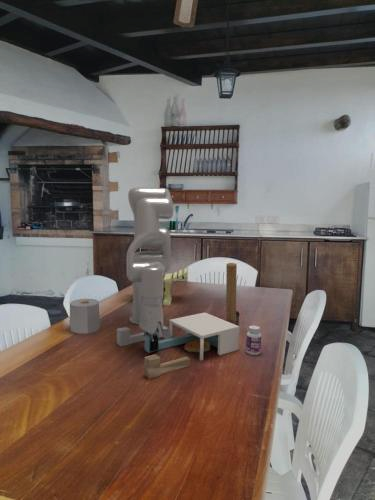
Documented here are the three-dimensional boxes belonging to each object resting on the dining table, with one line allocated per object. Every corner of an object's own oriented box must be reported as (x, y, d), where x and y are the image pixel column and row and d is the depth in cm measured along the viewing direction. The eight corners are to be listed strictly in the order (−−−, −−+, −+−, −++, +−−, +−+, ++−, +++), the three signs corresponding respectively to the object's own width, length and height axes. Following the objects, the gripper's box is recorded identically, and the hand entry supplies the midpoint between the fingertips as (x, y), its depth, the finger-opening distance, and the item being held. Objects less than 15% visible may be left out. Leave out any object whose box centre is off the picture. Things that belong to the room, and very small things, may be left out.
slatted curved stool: (187, 297, 214) (187, 266, 212) (186, 305, 198) (187, 271, 196) (134, 296, 215) (134, 265, 212) (129, 303, 199) (129, 270, 196)
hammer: (233, 342, 155) (233, 273, 145) (220, 341, 156) (220, 273, 146) (240, 319, 173) (240, 256, 164) (229, 317, 174) (229, 256, 165)
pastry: (188, 355, 137) (188, 344, 136) (181, 348, 143) (181, 338, 142) (211, 351, 140) (211, 341, 140) (203, 344, 146) (204, 335, 146)
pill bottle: (251, 356, 136) (252, 330, 135) (242, 351, 141) (243, 325, 139) (263, 353, 138) (264, 328, 137) (254, 348, 143) (255, 323, 142)
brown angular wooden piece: (144, 375, 120) (144, 357, 119) (185, 363, 130) (185, 346, 129) (149, 378, 118) (149, 360, 117) (190, 366, 127) (191, 349, 126)
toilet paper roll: (105, 329, 161) (104, 302, 159) (79, 336, 152) (79, 308, 150) (89, 322, 169) (88, 297, 167) (64, 328, 160) (63, 302, 159)
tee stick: (114, 341, 147) (114, 327, 146) (158, 332, 159) (158, 318, 158) (123, 348, 140) (123, 333, 140) (168, 337, 152) (169, 323, 151)
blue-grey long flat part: (144, 350, 139) (144, 334, 138) (200, 336, 154) (200, 322, 153) (163, 362, 129) (163, 345, 128) (220, 346, 144) (221, 331, 143)
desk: (168, 342, 148) (169, 319, 146) (204, 333, 158) (204, 312, 157) (201, 360, 131) (201, 335, 130) (238, 349, 142) (239, 326, 140)
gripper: (131, 296, 141) (131, 343, 143) (154, 307, 128) (154, 359, 130) (149, 293, 145) (148, 339, 148) (173, 304, 132) (172, 354, 135)
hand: (151, 348), depth 139 cm, fingers closed on blue-grey long flat part, 3 cm apart
